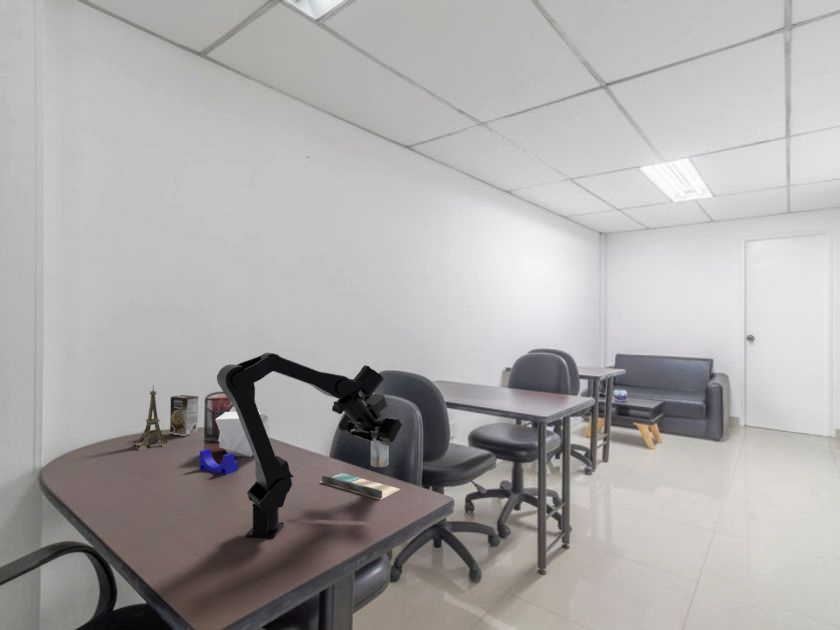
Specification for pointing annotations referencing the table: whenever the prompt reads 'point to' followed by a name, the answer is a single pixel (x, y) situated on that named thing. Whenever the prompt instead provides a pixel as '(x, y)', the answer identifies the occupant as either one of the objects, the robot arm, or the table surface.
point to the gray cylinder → (378, 452)
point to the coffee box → (184, 414)
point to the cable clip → (210, 465)
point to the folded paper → (236, 433)
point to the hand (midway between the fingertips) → (382, 442)
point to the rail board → (359, 485)
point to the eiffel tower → (150, 421)
